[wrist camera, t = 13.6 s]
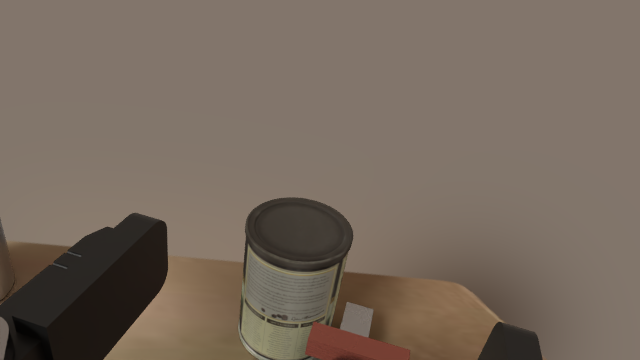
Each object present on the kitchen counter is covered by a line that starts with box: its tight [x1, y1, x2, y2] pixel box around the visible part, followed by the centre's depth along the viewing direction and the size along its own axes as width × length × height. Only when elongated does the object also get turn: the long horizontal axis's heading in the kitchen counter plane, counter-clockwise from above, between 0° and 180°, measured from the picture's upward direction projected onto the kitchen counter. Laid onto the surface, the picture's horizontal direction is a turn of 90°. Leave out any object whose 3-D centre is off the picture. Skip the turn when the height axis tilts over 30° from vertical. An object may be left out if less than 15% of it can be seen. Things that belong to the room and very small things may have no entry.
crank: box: [305, 302, 410, 360], centre depth 38 cm, size 20×6×16 cm, turn 166°
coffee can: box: [238, 198, 353, 360], centre depth 46 cm, size 10×10×14 cm
